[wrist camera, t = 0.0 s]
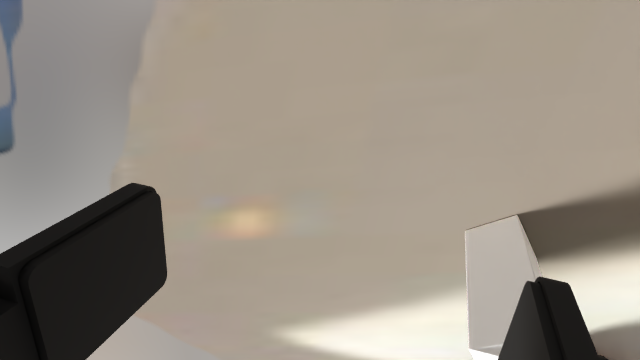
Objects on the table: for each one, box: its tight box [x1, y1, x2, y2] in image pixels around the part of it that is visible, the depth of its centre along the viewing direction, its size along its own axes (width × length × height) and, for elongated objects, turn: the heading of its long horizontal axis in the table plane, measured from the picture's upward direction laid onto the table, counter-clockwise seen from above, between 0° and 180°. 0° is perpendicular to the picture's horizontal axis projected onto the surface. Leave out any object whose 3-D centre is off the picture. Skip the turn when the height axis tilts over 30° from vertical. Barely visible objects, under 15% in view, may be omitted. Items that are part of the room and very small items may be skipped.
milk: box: [465, 215, 542, 360], centre depth 38 cm, size 6×6×22 cm
